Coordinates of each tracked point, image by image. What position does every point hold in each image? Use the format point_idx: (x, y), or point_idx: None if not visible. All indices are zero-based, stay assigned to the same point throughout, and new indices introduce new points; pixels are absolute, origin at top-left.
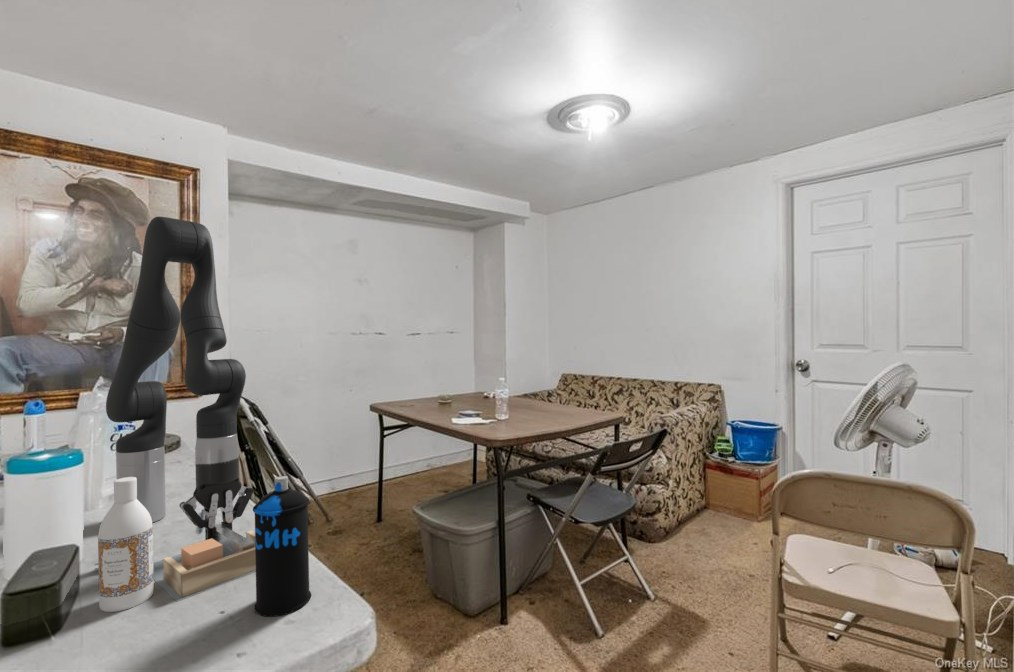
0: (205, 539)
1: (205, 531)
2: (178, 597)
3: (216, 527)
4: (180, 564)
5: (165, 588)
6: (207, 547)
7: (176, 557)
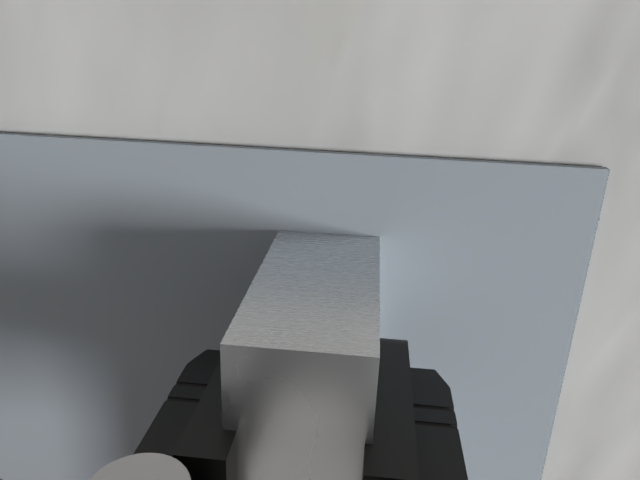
0: (183, 371)
1: (146, 437)
2: None
3: (278, 473)
4: (16, 363)
5: None
6: None
7: (13, 186)
